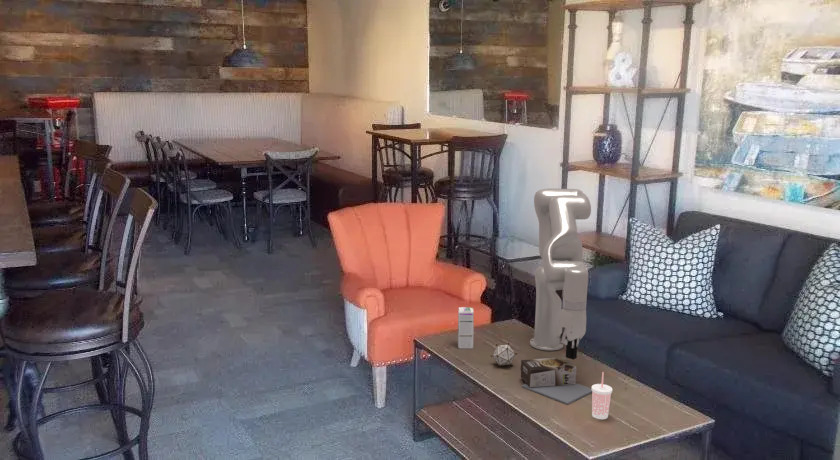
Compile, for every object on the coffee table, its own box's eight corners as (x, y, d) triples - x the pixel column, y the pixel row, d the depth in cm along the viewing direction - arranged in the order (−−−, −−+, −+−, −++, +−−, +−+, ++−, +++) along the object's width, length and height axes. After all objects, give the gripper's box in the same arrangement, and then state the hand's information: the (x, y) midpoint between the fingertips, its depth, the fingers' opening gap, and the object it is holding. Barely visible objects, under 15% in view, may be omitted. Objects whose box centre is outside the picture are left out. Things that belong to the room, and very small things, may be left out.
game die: (507, 376, 256) (515, 362, 249) (485, 366, 257) (493, 351, 250) (514, 358, 262) (522, 343, 255) (492, 348, 263) (500, 333, 256)
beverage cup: (605, 410, 222) (608, 367, 219) (613, 419, 216) (617, 375, 214) (586, 411, 221) (589, 368, 218) (594, 421, 215) (597, 376, 213)
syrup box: (473, 348, 272) (474, 311, 269) (457, 348, 272) (458, 311, 269) (472, 343, 278) (473, 307, 275) (457, 343, 278) (458, 306, 275)
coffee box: (576, 366, 238) (530, 369, 235) (575, 384, 240) (529, 388, 236) (565, 356, 247) (520, 359, 243) (564, 373, 248) (519, 377, 245)
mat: (549, 375, 249) (549, 373, 249) (594, 391, 236) (594, 389, 236) (521, 387, 238) (521, 385, 238) (567, 404, 226) (567, 403, 226)
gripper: (577, 297, 244) (574, 349, 248) (551, 306, 234) (548, 360, 237) (597, 302, 239) (593, 355, 242) (570, 312, 229) (567, 367, 232)
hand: (571, 357), depth 240 cm, fingers closed
